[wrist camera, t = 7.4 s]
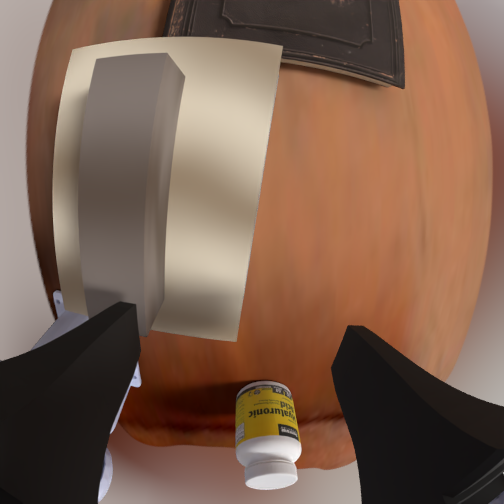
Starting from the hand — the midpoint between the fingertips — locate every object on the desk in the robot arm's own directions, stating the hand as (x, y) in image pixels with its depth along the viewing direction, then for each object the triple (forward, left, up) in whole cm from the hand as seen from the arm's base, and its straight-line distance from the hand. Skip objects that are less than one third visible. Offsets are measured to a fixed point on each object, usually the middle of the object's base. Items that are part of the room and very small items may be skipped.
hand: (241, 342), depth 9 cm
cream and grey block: (+4, +5, -5) cm, 8 cm away
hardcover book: (+24, 0, -11) cm, 26 cm away
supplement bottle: (-15, -4, -11) cm, 19 cm away
